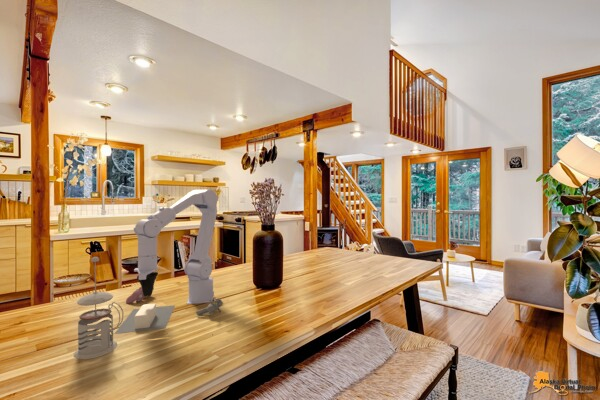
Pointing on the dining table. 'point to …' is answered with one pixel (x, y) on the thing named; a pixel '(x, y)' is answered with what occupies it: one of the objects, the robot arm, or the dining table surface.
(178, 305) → the dining table surface
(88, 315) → the french press
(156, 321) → the slate mat
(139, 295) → the video game controller
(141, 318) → the cream block
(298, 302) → the dining table surface
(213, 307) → the grey toy figure
